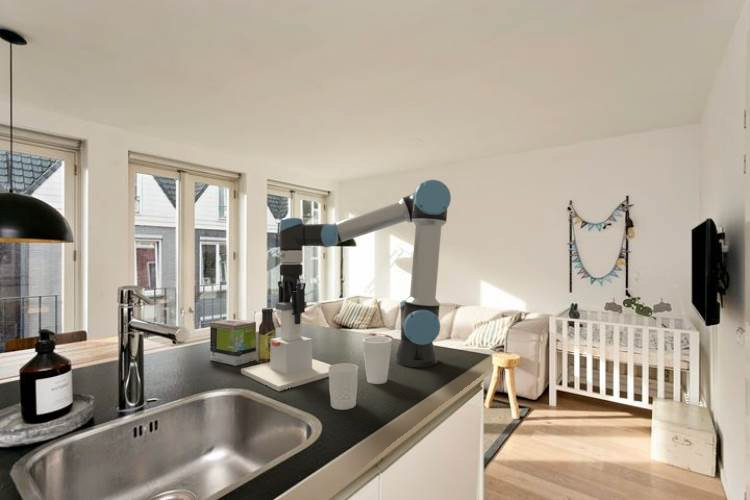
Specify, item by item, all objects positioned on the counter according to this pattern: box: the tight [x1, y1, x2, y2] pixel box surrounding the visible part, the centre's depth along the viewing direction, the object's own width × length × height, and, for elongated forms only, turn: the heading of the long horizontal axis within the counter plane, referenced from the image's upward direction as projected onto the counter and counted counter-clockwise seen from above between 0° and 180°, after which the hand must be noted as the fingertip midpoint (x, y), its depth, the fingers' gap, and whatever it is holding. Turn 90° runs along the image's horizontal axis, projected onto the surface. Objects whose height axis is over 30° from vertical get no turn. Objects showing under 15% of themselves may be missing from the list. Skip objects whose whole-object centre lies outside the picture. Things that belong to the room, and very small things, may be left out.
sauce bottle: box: [257, 307, 277, 364], centre depth 141 cm, size 7×6×20 cm
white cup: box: [328, 362, 359, 411], centre depth 101 cm, size 8×8×10 cm
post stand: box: [240, 335, 332, 392], centre depth 128 cm, size 24×24×12 cm
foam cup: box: [361, 335, 393, 385], centre depth 120 cm, size 10×9×13 cm
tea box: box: [209, 318, 257, 367], centre depth 143 cm, size 15×10×15 cm, turn 58°
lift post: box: [275, 300, 308, 342], centre depth 128 cm, size 5×9×22 cm, turn 135°
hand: (291, 332), depth 128 cm, fingers closed on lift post, 5 cm apart
